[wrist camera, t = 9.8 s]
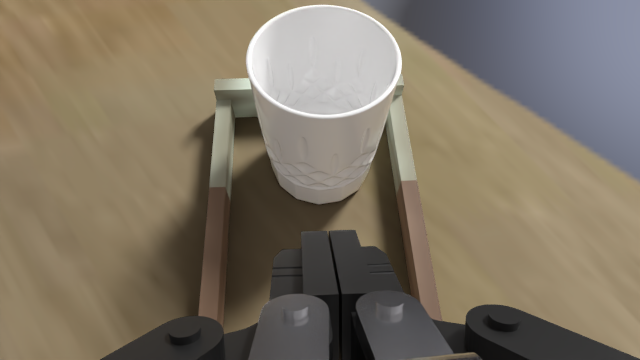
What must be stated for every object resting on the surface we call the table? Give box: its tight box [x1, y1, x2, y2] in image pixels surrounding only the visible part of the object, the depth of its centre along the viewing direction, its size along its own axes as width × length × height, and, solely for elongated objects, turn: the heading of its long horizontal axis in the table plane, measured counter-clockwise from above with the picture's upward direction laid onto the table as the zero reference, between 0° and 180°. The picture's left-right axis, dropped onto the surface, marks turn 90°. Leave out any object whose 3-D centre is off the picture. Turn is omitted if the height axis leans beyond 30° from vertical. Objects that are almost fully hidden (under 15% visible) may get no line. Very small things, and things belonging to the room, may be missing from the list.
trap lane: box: [198, 74, 442, 327], centre depth 27 cm, size 13×24×3 cm, turn 3°
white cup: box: [246, 5, 402, 204], centre depth 27 cm, size 8×8×10 cm
